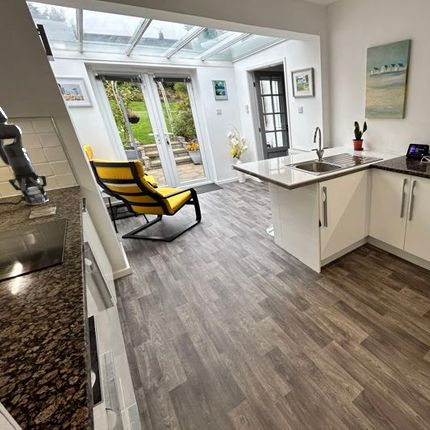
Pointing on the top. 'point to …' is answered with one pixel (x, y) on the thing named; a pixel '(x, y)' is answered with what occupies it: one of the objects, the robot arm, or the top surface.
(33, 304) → the top surface
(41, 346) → the top surface
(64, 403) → the top surface
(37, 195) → the pill bottle
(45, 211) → the drawing board
